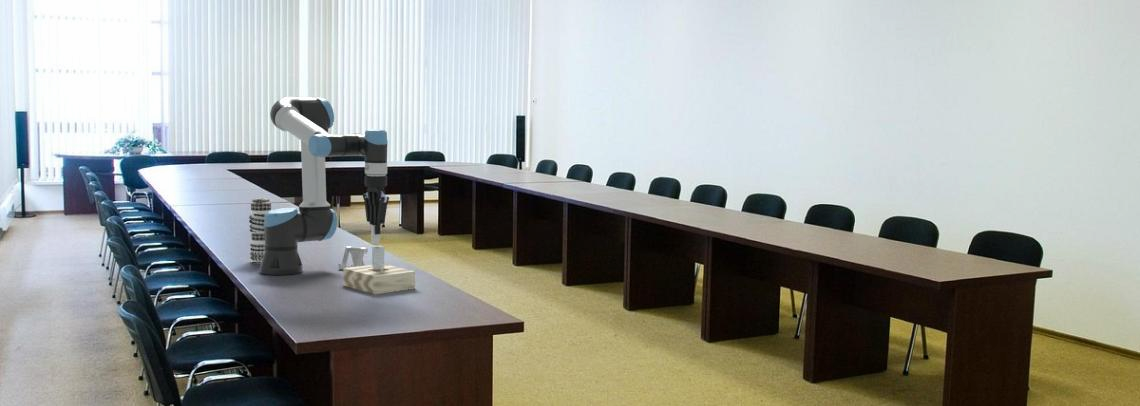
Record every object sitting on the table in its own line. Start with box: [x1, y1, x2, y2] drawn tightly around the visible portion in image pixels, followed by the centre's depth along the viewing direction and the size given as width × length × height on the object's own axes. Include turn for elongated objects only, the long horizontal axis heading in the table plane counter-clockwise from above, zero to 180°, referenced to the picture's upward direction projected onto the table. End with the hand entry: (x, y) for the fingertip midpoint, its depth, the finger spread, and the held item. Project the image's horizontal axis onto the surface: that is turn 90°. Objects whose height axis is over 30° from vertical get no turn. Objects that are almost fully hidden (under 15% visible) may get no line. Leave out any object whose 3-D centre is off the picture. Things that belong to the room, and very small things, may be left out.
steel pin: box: [371, 245, 385, 272], centre depth 327 cm, size 4×4×14 cm
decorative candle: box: [248, 197, 272, 263], centre depth 374 cm, size 9×9×25 cm
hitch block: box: [342, 263, 416, 295], centre depth 327 cm, size 20×16×6 cm
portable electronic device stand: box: [337, 245, 369, 271], centre depth 361 cm, size 9×8×8 cm
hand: (375, 243), depth 327 cm, fingers closed
